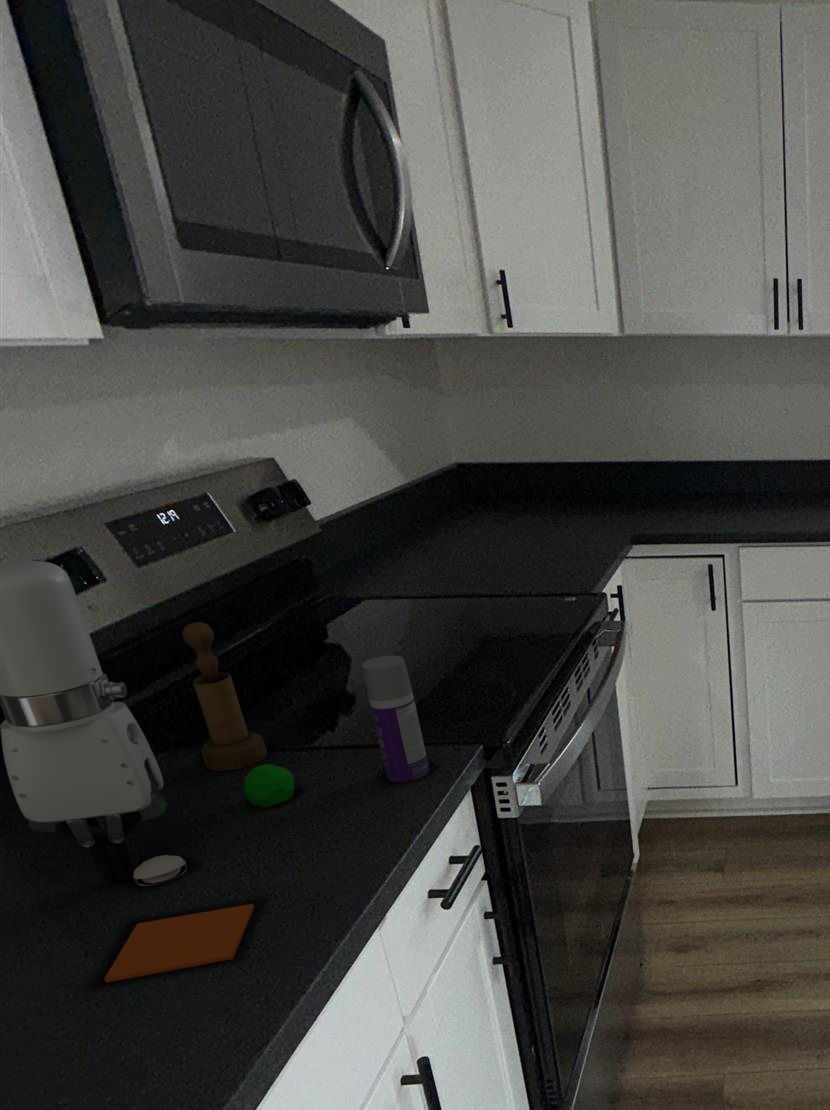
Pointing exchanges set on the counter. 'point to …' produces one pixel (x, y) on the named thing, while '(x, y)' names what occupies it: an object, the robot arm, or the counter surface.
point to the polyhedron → (269, 785)
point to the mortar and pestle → (221, 709)
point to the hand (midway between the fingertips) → (121, 873)
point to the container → (395, 718)
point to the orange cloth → (181, 942)
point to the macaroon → (159, 869)
